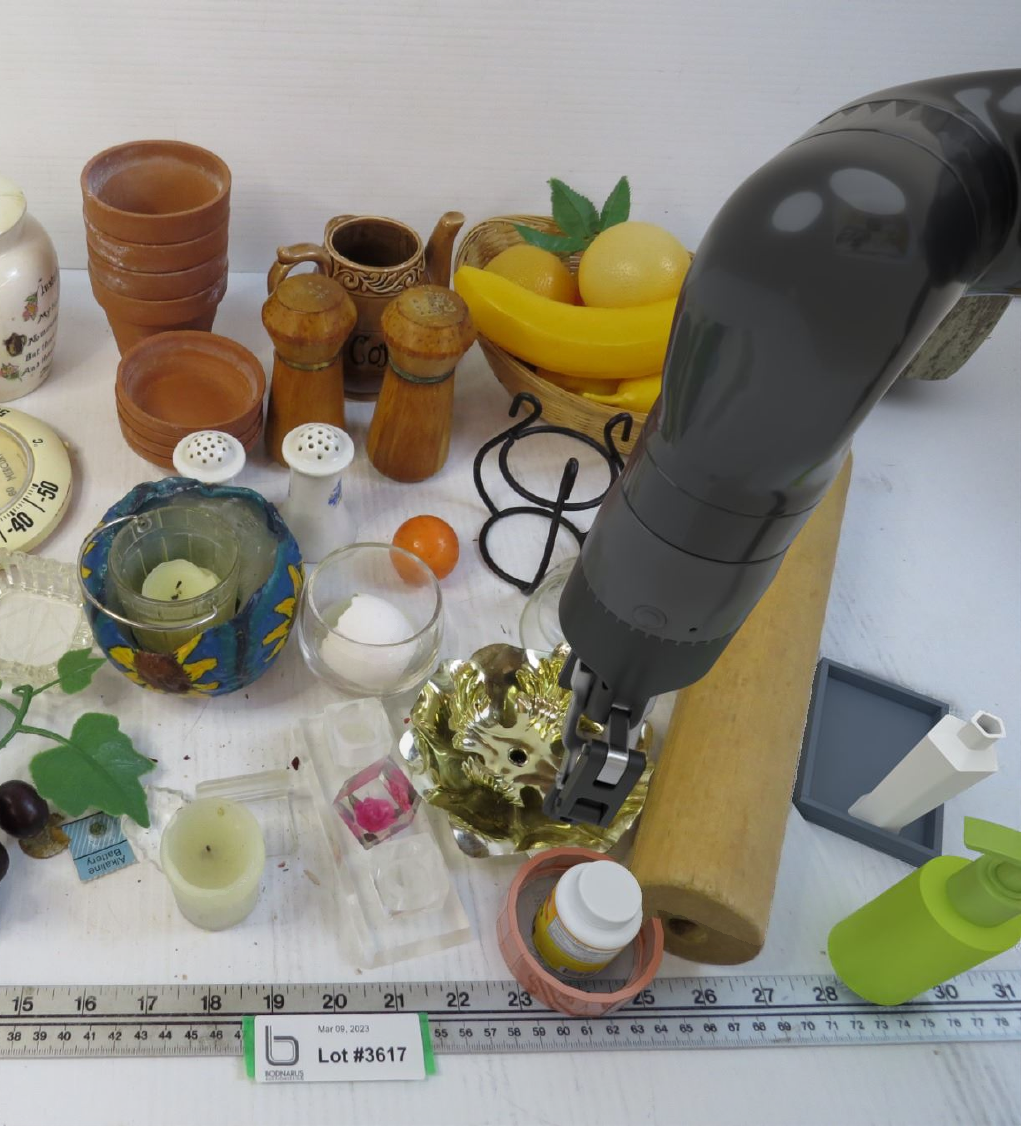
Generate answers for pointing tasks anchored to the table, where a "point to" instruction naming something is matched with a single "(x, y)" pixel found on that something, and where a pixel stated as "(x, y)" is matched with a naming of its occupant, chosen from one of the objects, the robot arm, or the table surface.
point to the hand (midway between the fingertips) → (568, 746)
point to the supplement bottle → (588, 918)
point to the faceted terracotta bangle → (541, 981)
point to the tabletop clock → (957, 337)
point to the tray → (864, 756)
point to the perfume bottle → (933, 771)
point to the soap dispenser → (934, 920)
